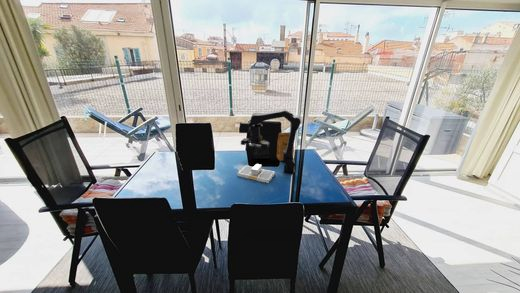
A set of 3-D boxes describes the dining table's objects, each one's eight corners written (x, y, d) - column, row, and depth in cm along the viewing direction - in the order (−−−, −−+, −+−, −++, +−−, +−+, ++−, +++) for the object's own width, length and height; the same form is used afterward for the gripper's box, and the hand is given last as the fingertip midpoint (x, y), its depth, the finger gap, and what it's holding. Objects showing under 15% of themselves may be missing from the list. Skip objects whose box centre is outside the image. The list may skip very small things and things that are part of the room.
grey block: (261, 172, 149) (261, 165, 147) (256, 178, 142) (256, 170, 140) (256, 171, 151) (256, 163, 148) (251, 176, 144) (251, 168, 142)
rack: (274, 174, 148) (274, 171, 147) (268, 183, 137) (268, 180, 136) (245, 167, 156) (245, 165, 155) (237, 175, 145) (237, 173, 144)
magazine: (273, 156, 170) (265, 140, 164) (257, 163, 171) (249, 147, 165) (272, 154, 173) (264, 138, 168) (257, 161, 175) (249, 145, 169)
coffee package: (294, 161, 166) (296, 134, 158) (278, 162, 165) (279, 134, 156) (290, 156, 175) (292, 130, 167) (275, 156, 174) (277, 130, 165)
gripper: (272, 131, 145) (271, 152, 151) (247, 127, 151) (247, 148, 157) (267, 136, 136) (266, 159, 142) (240, 132, 142) (240, 154, 148)
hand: (255, 155), depth 147 cm, fingers closed
